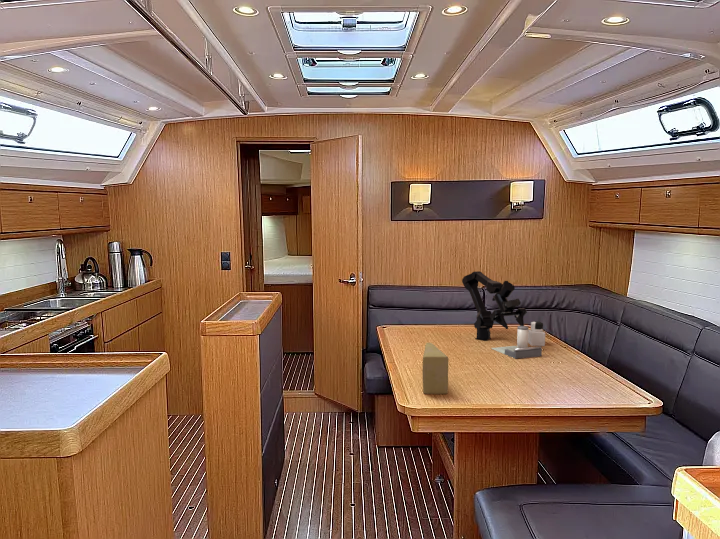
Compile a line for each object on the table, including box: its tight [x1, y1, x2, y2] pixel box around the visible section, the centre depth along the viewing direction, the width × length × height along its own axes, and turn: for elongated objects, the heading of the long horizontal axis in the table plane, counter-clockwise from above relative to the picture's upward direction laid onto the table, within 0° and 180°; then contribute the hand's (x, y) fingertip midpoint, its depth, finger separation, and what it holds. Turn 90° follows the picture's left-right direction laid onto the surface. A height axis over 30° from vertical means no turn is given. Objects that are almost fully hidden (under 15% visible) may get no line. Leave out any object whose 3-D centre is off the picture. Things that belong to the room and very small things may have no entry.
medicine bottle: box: [528, 321, 546, 347], centre depth 259 cm, size 7×7×12 cm
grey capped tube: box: [516, 325, 529, 349], centre depth 238 cm, size 5×5×14 cm
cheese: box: [421, 342, 449, 395], centre depth 195 cm, size 22×10×15 cm, turn 179°
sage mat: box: [490, 345, 517, 355], centre depth 248 cm, size 11×15×1 cm
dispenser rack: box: [504, 346, 543, 360], centre depth 238 cm, size 8×15×5 cm, turn 109°
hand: (515, 328), depth 243 cm, fingers open, 9 cm apart
